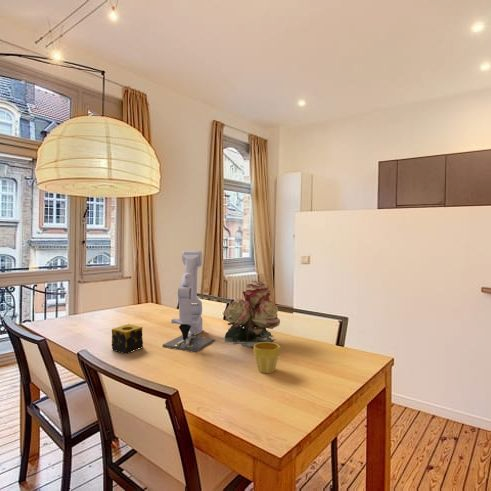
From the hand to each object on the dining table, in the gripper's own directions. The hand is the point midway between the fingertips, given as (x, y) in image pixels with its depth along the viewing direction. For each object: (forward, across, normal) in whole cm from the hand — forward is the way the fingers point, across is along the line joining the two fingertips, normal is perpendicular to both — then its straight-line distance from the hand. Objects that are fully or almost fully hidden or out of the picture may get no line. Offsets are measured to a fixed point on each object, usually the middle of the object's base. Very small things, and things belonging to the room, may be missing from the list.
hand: (185, 339), depth 169 cm
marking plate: (+3, 0, +3) cm, 4 cm away
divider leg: (+1, 0, +3) cm, 4 cm away
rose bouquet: (+3, +27, +22) cm, 35 cm away
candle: (+3, -22, -15) cm, 27 cm away
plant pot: (+3, +45, -12) cm, 47 cm away
